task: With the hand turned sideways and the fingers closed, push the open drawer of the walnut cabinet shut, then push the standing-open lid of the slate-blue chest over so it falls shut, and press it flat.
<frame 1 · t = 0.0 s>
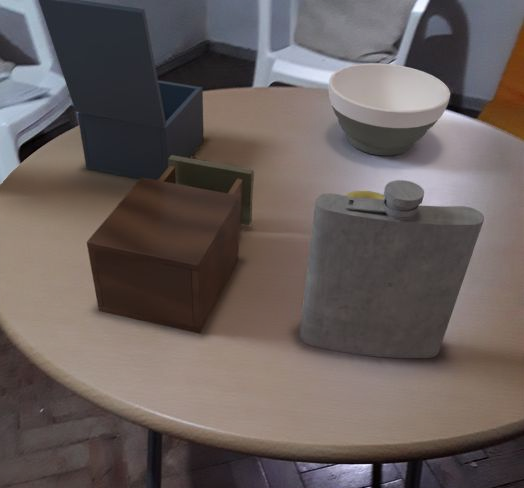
drawer: (196, 211, 81), point 5 cm above the table, slide at 7.0 cm
lid: (106, 65, 82), point 17 cm above the table, hinge at 105.1°
hip flask: (368, 345, 71), on the table
bowl: (378, 142, 108), on the table
cabinet: (172, 284, 77), on the table
chest: (147, 153, 101), on the table
apple: (359, 251, 85), on the table
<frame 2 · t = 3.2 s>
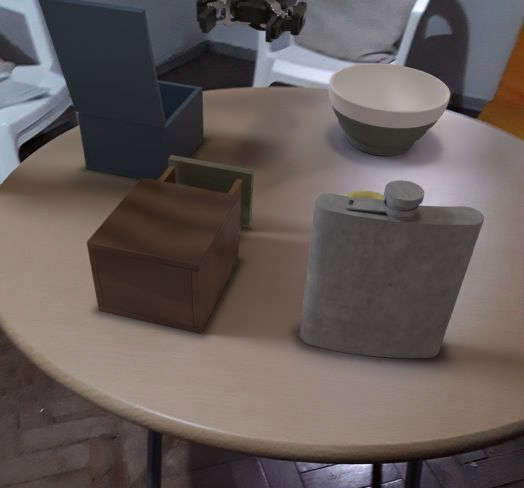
hand: (235, 29, 79), 22 cm above the table, tool horizontal, fingers open, 8 cm apart
nothing on the table moved.
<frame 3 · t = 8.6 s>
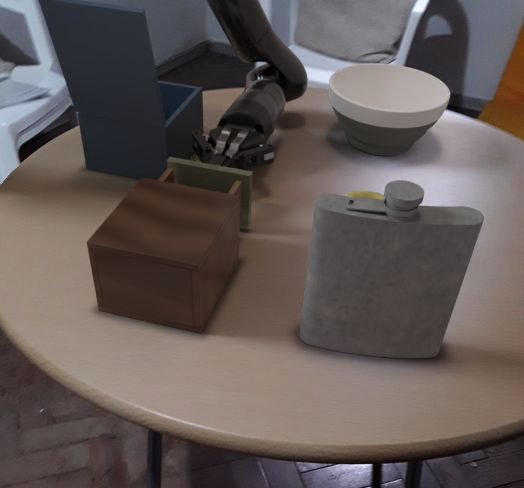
hand: (213, 175, 84), 6 cm above the table, tool horizontal, fingers closed
drawer: (195, 214, 80), point 5 cm above the table, slide at 6.5 cm, touching gripper
everything else where it was.
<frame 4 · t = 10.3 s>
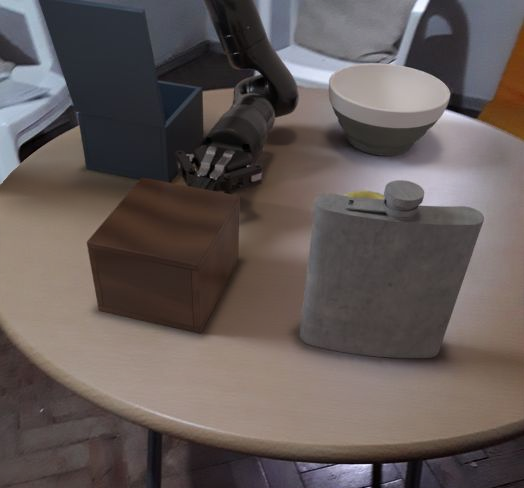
hand: (196, 199, 80), 6 cm above the table, tool horizontal, fingers closed
drawer: (177, 241, 76), point 5 cm above the table, slide at 0.0 cm, touching cabinet, gripper
everything else where it was.
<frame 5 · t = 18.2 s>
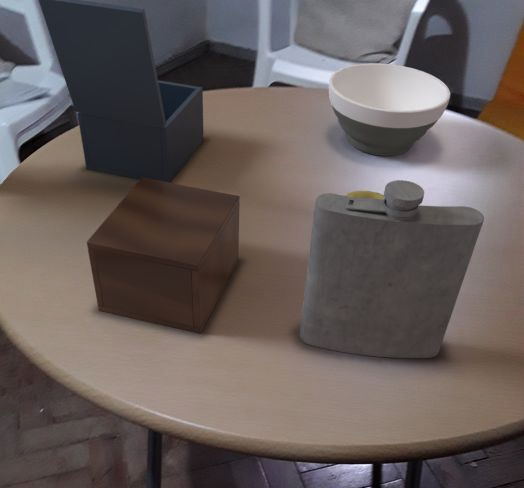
drawer: (177, 241, 76), point 5 cm above the table, slide at 0.0 cm, touching cabinet
everything else where it was.
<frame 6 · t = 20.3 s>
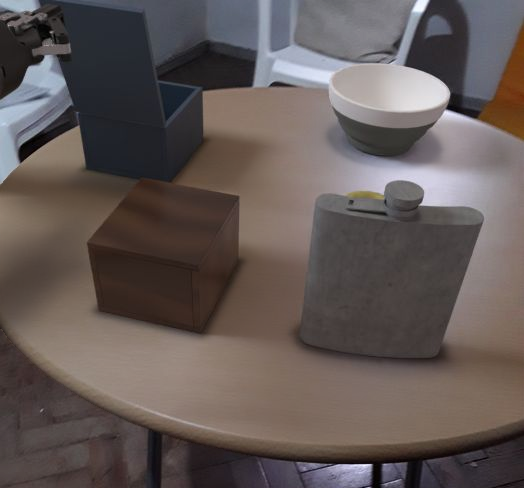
hand: (56, 14, 69), 26 cm above the table, tool horizontal, fingers closed
nothing on the table moved.
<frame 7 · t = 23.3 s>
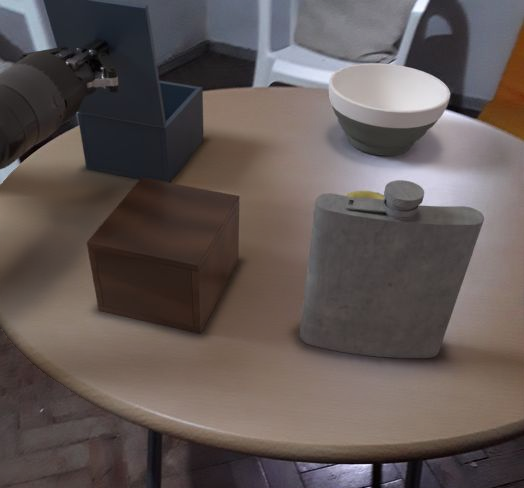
hand: (102, 48, 80), 19 cm above the table, tool horizontal, fingers closed
lid: (108, 63, 82), point 17 cm above the table, hinge at 101.6°
everything else where it was.
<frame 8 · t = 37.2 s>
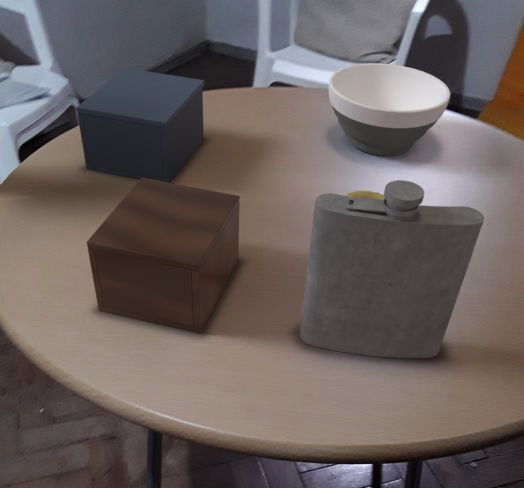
lid: (143, 95, 95), point 9 cm above the table, hinge at -0.1°
everything else where it was.
at the end: drawer slide at 0.0 cm; lid at +0° (first picture: +105°) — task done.
